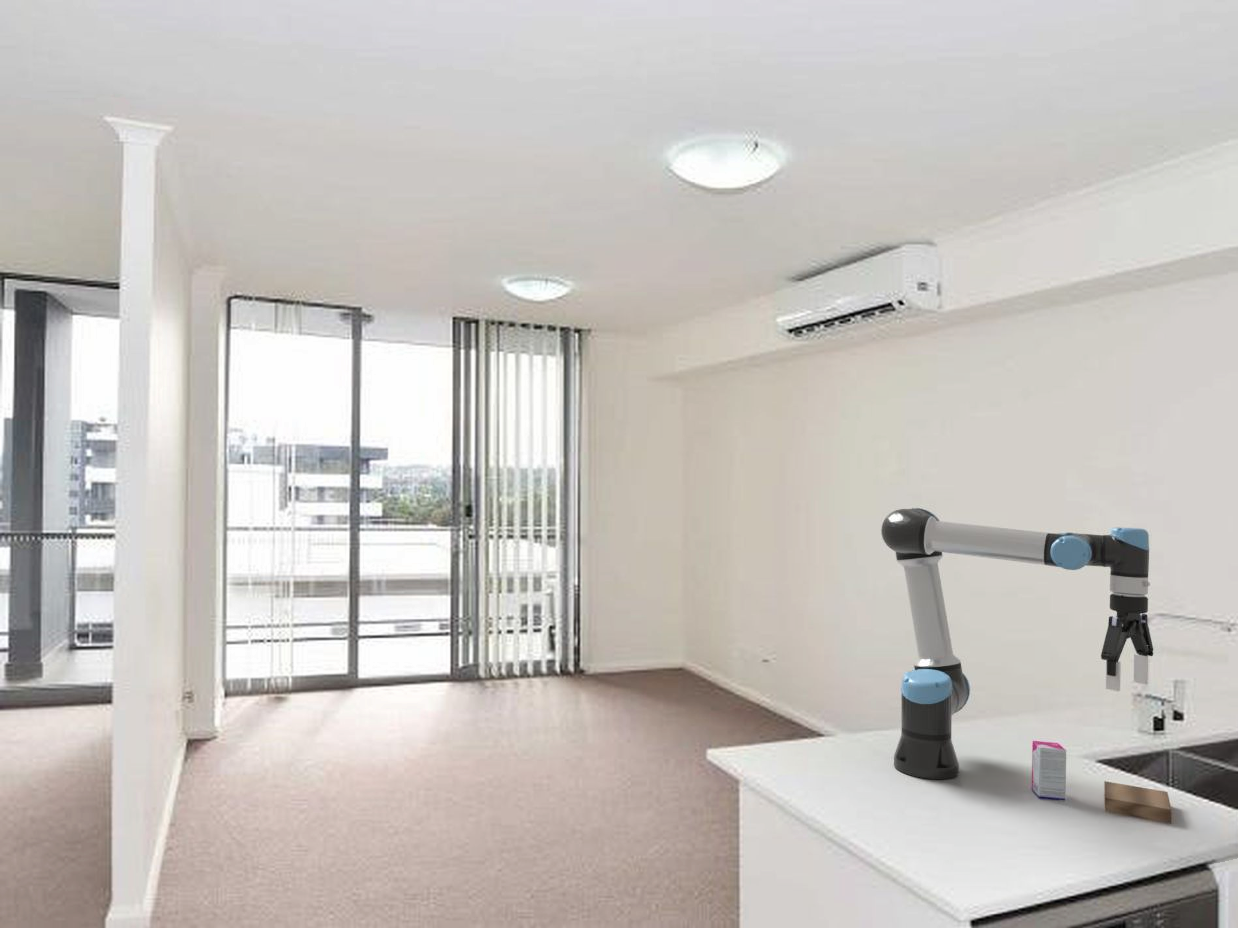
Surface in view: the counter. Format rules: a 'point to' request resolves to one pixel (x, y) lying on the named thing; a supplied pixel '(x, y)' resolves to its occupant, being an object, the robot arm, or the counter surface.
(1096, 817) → the counter surface
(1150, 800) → the wooden block
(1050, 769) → the supplement box
